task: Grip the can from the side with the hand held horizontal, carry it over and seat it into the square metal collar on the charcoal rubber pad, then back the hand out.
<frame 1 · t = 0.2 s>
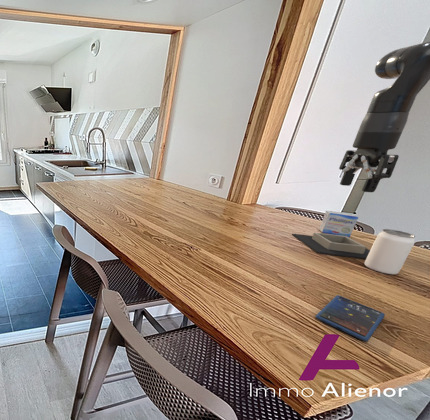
hand: (355, 188, 71), 24 cm above the table, tool pointing down, fingers open, 8 cm apart
smartphone: (349, 318, 54), on the table
medicine box: (333, 233, 99), on the table
pad: (335, 247, 87), on the table
can: (379, 269, 74), on the table
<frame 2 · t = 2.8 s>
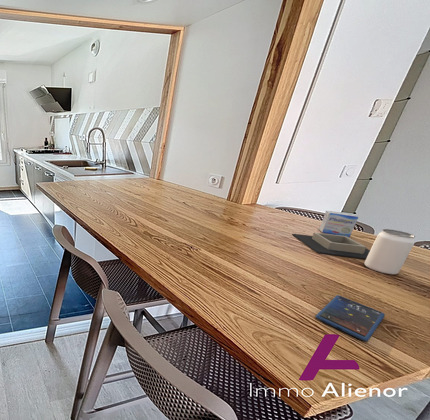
nothing on the table moved.
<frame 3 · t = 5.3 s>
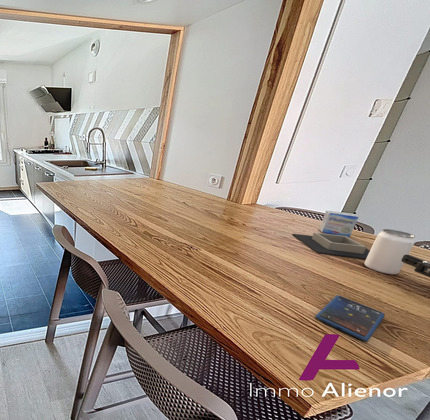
hand: (421, 258, 65), 7 cm above the table, tool horizontal, fingers open, 8 cm apart
nothing on the table moved.
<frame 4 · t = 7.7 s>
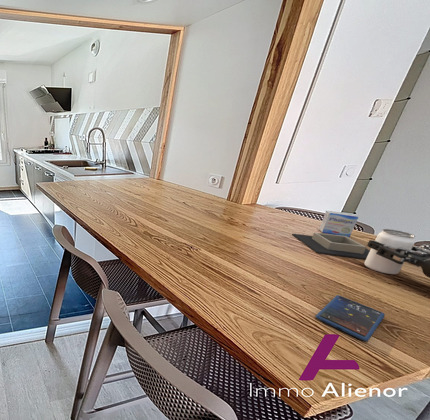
hand: (381, 243, 73), 8 cm above the table, tool horizontal, fingers closed on can, 6 cm apart
can: (379, 269, 74), on the table, touching gripper
everything else where it was.
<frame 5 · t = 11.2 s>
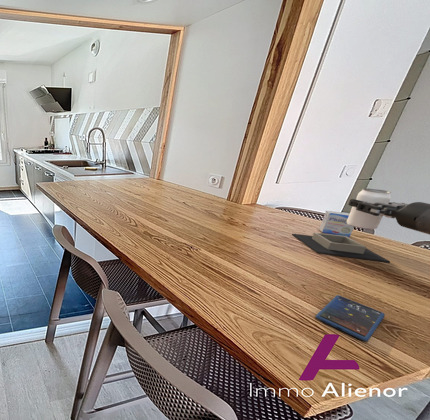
hand: (362, 202, 79), 18 cm above the table, tool horizontal, fingers closed on can, 6 cm apart
can: (360, 226, 79), point 10 cm above the table, touching gripper
everything else where it was.
when the fingers open (8 cm above the table, at t = 15.1 s): can stays where it is, resting on pad.
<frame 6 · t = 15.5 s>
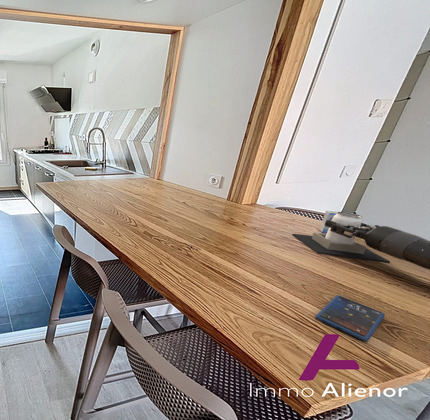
hand: (339, 222, 86), 9 cm above the table, tool horizontal, fingers open, 8 cm apart
can: (335, 246, 87), resting on pad
everything else where it was.
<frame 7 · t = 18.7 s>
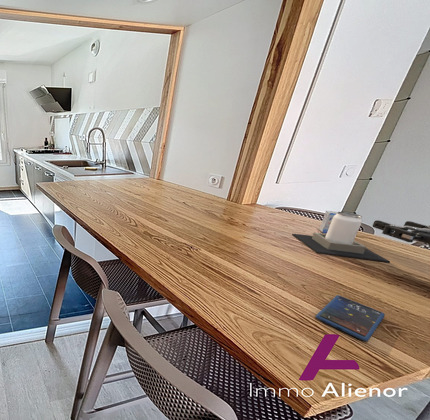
hand: (390, 223, 72), 14 cm above the table, tool horizontal, fingers open, 8 cm apart
nothing on the table moved.
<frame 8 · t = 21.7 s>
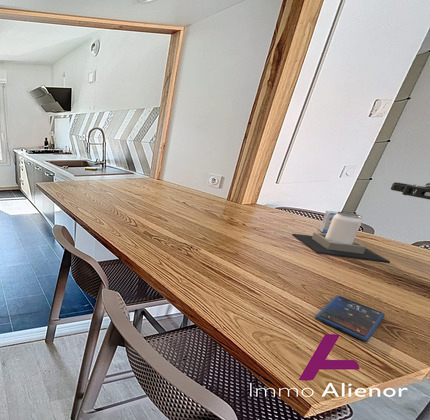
hand: (409, 186, 68), 25 cm above the table, tool horizontal, fingers open, 8 cm apart
nothing on the table moved.
at the end: can 0.1 cm off-centre on the pad, point 0.4 cm above the pad's base; can tilted 0°; the gripper is holding nothing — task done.
